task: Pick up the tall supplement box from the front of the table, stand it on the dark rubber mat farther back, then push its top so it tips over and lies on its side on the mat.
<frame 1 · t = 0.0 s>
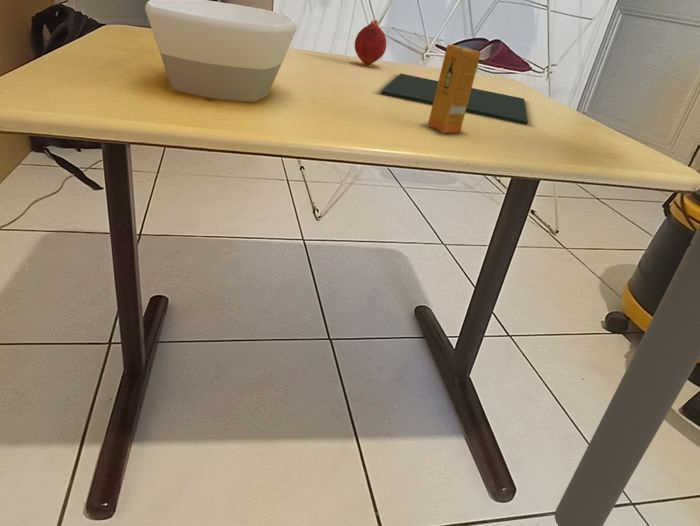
onion: (366, 66, 104), on the table
bowl: (220, 90, 72), on the table
supplement box: (444, 130, 72), on the table
mat: (457, 98, 91), on the table
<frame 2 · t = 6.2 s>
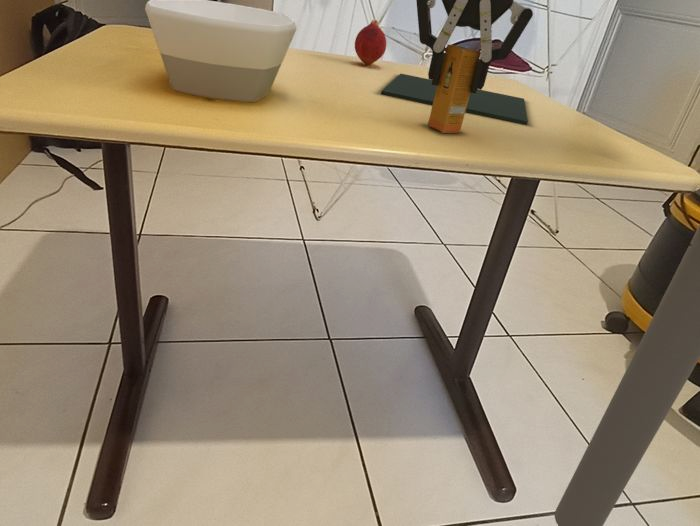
hand: (454, 87, 69), 5 cm above the table, tool pointing down, fingers closed on supplement box, 4 cm apart
supplement box: (444, 130, 72), on the table, touching gripper
everything else where it was.
when the fingers open (6 cm above the table, at t = 12.8 s): supplement box stays where it is, resting on mat.
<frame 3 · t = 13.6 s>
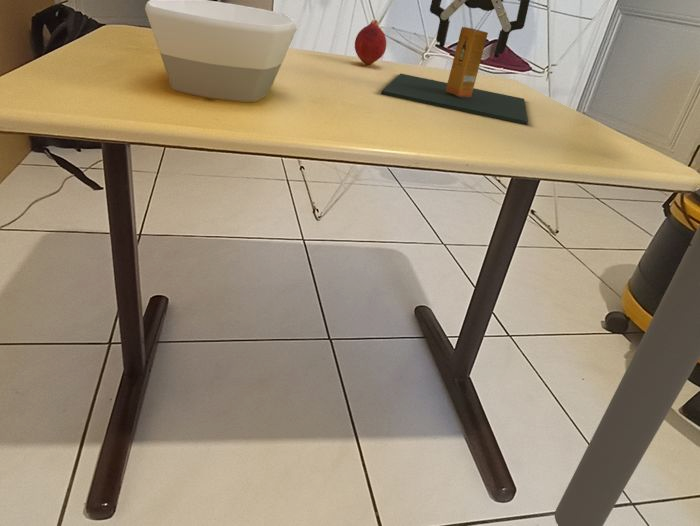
hand: (468, 51, 87), 7 cm above the table, tool pointing down, fingers open, 8 cm apart
supplement box: (458, 96, 90), resting on mat
everything else where it was.
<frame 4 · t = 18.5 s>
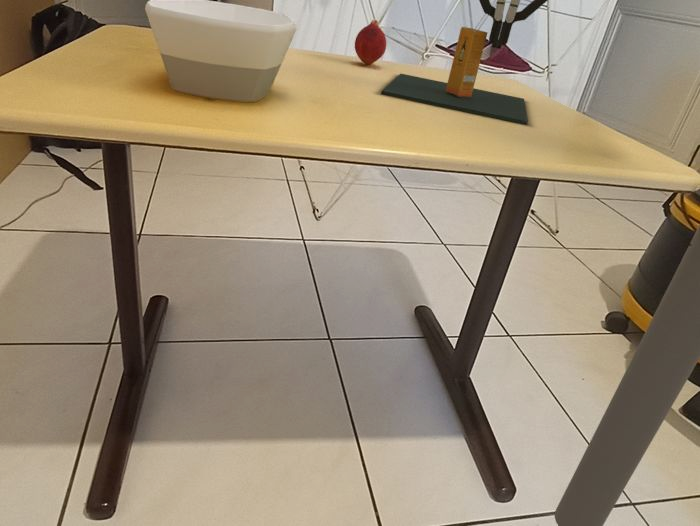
hand: (496, 47, 86), 9 cm above the table, tool pointing down, fingers closed
supplement box: (458, 96, 90), resting on mat, touching gripper
everything else where it was.
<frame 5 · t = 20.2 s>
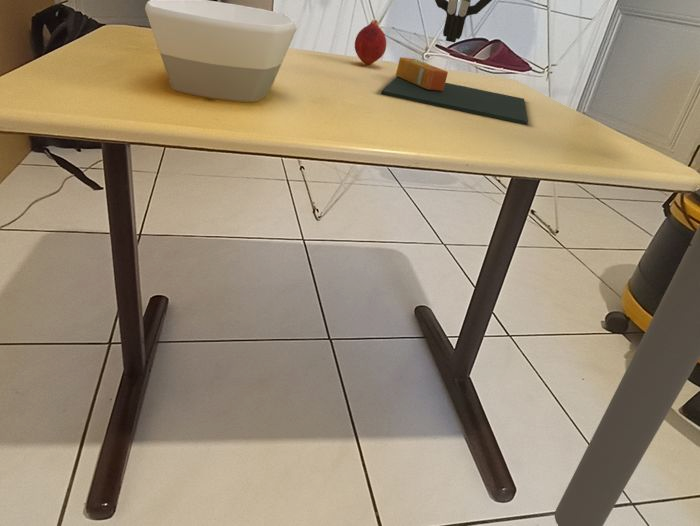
hand: (450, 41, 87), 8 cm above the table, tool pointing down, fingers closed
supplement box: (439, 80, 89), point 2 cm above the table, touching mat
everything else where it was.
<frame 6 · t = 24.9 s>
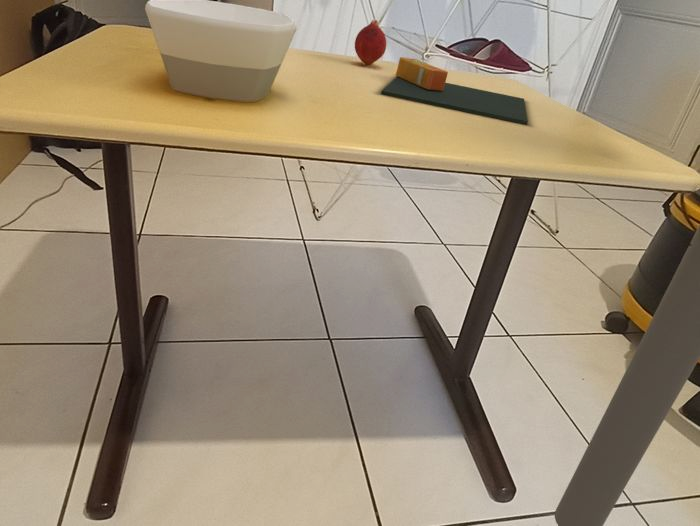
nothing on the table moved.
at the end: supplement box tilted 92°; supplement box inside the target area on the mat (3.4 cm from its centre), point 2.3 cm above the mat's base; the gripper is holding nothing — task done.
